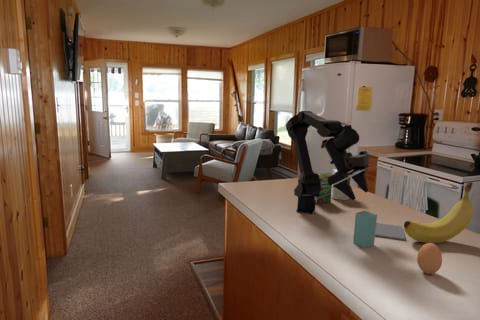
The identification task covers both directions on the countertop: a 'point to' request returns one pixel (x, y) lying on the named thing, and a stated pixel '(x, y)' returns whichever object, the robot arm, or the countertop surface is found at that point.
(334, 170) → the supplement box
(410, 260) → the countertop surface
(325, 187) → the coffee box
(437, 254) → the egg
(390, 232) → the slate mat
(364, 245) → the teal block
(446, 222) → the banana
